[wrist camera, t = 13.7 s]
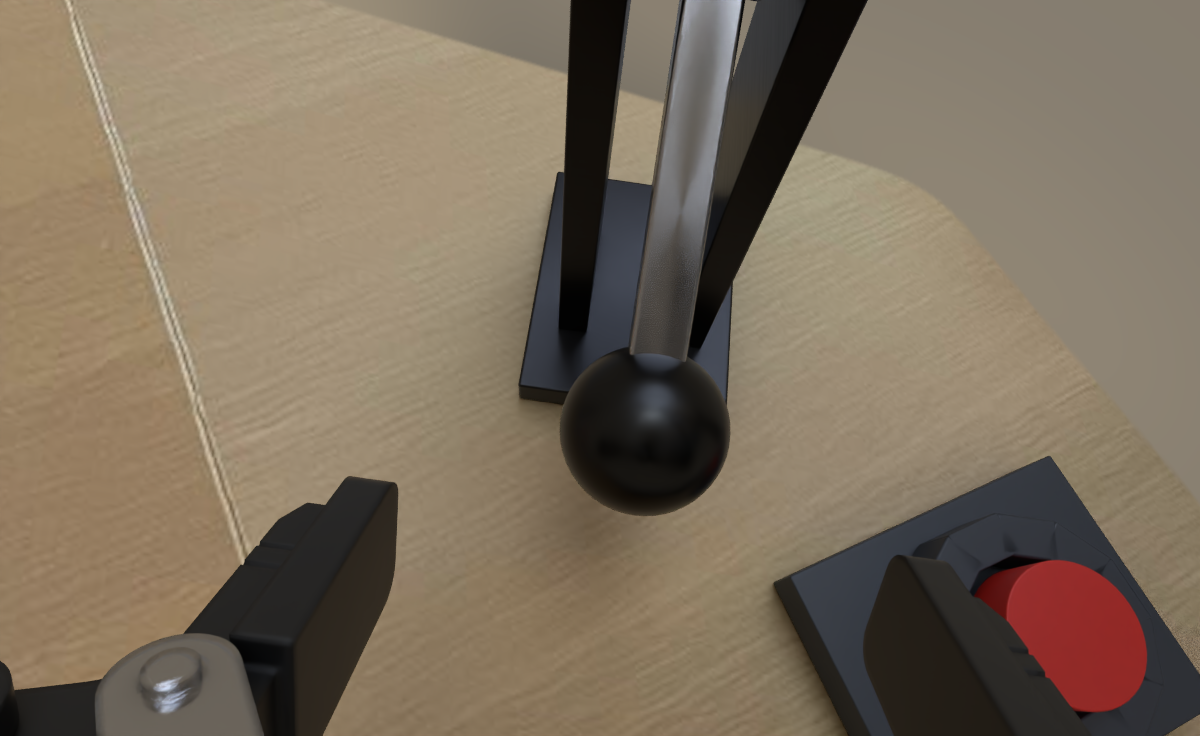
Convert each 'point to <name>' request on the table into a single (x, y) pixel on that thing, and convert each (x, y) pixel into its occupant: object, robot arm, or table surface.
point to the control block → (976, 551)
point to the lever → (664, 303)
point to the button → (1073, 630)
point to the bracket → (619, 209)
